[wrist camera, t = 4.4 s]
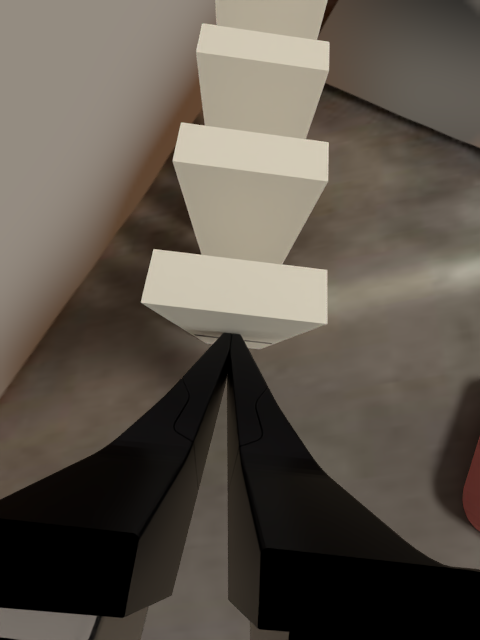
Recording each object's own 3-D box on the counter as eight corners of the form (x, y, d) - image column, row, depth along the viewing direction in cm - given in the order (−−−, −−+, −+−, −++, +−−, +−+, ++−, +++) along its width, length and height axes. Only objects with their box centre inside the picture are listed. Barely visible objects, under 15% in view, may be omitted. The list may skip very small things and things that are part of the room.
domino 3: (267, 251, 18) (328, 71, 7) (219, 245, 18) (195, 52, 7) (268, 237, 19) (329, 41, 7) (221, 231, 19) (202, 22, 7)
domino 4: (271, 211, 19) (330, -10, 8) (225, 205, 19) (213, -28, 8) (272, 197, 20) (330, -34, 8) (227, 192, 20) (218, -51, 8)
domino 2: (263, 298, 18) (328, 182, 6) (212, 292, 17) (172, 162, 6) (265, 281, 18) (328, 141, 6) (215, 275, 18) (181, 121, 6)
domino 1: (259, 349, 17) (327, 325, 5) (205, 343, 16) (140, 304, 5) (261, 331, 17) (327, 268, 5) (208, 325, 17) (153, 247, 5)
